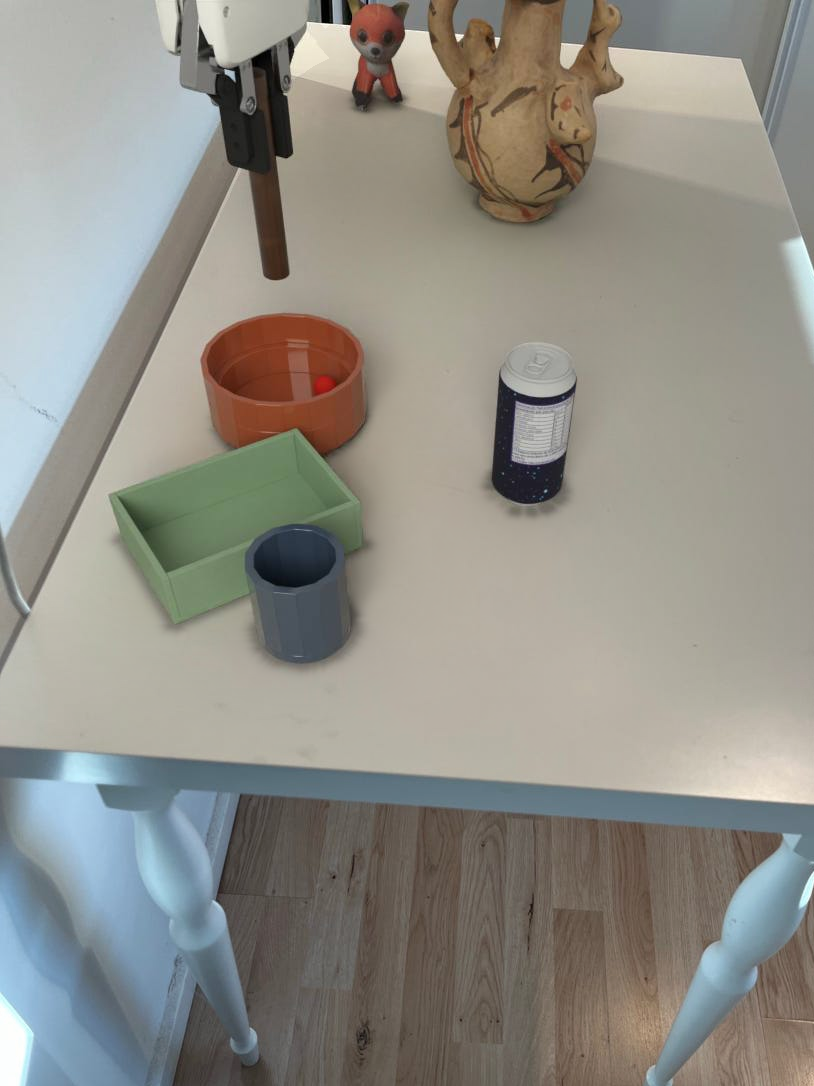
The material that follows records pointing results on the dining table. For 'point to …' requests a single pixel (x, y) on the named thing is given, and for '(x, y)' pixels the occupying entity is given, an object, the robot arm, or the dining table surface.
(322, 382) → the berry
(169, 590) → the tray
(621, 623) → the dining table surface
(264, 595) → the holder
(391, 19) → the stuffed fox
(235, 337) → the bowl
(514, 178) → the ceramic vessel
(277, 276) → the stick
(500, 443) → the beverage can
